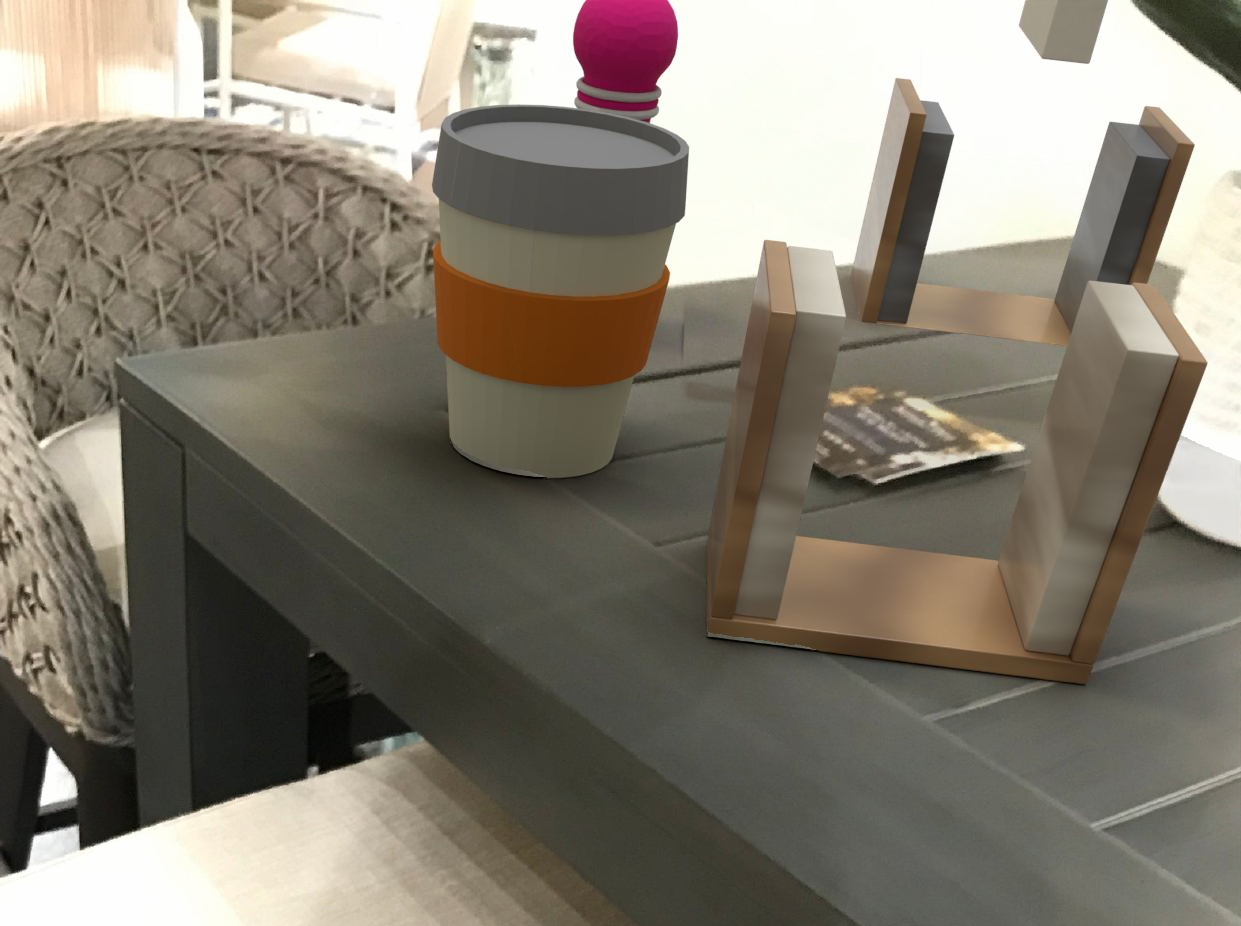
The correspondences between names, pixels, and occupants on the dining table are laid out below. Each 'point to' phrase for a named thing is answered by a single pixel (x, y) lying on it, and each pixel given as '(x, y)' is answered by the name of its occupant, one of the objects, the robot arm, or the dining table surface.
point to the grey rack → (1101, 248)
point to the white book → (1063, 27)
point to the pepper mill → (623, 55)
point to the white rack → (932, 582)
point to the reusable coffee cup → (550, 276)
